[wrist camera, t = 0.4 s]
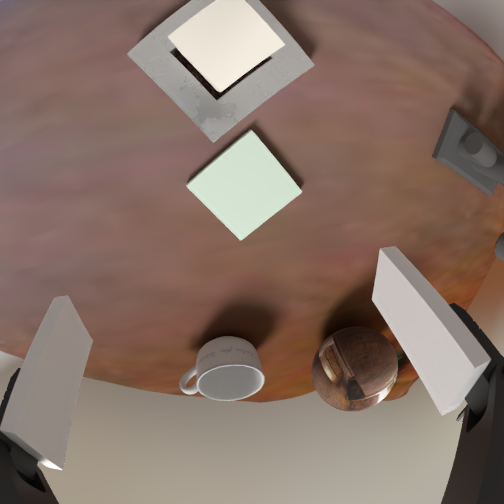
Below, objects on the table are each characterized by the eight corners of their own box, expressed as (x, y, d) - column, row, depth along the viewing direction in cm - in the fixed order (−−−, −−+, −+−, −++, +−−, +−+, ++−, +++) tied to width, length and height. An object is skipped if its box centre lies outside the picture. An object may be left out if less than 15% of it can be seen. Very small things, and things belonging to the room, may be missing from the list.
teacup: (255, 322, 49) (263, 360, 42) (259, 363, 54) (266, 398, 48) (170, 333, 48) (167, 371, 41) (185, 372, 53) (185, 408, 47)
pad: (186, 183, 36) (186, 186, 35) (250, 129, 34) (251, 130, 33) (240, 237, 41) (240, 240, 40) (300, 189, 38) (302, 192, 37)
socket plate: (133, 56, 27) (126, 54, 25) (229, -18, 24) (231, -27, 21) (213, 138, 34) (213, 143, 31) (306, 66, 30) (314, 65, 28)
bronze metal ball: (383, 340, 57) (415, 396, 44) (319, 374, 59) (340, 434, 46) (366, 294, 49) (407, 359, 36) (289, 336, 52) (311, 408, 39)
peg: (182, 55, 28) (167, 36, 17) (224, 22, 27) (233, -12, 16) (216, 91, 31) (221, 92, 20) (258, 59, 30) (285, 44, 18)
